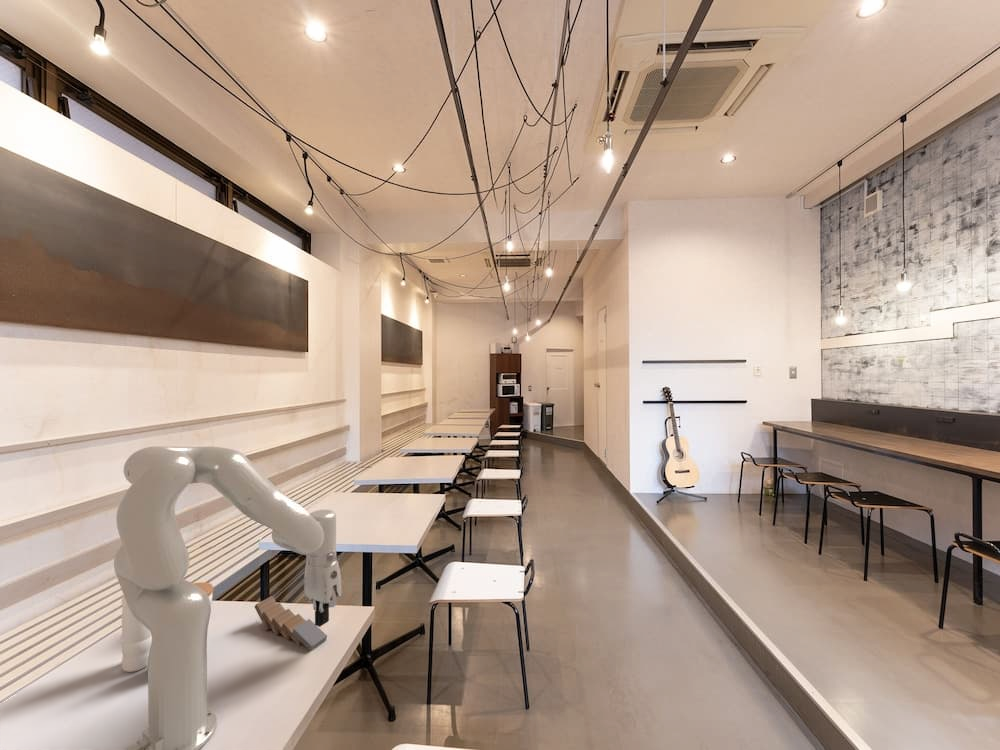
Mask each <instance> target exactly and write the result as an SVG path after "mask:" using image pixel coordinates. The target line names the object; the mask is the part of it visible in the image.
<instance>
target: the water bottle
mask: <svg viewBox="0 0 1000 750" xmlns="http://www.w3.org/2000/svg"><path fill="white" fill-rule="evenodd" d="M121 605H122V610H121V636H122V644H121V653H122V657H121V659H122V660H121V669H122V671H123V672H128V673H132V672H137V671H140V670H143V669H145V668H148V656H149V651H150V647H151V643H152V635H151V632H150V630H149V629H148V628H146V627H145V626H144V625H143V624H142V623H140V622H139V621H138V620H137V619H136V618H135V617H134V616H133V614H132V613H131V611H130V609H129V607H128V604H127V602H126V599H125V597H124V595H123V596H122V598H121Z"/></svg>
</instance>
